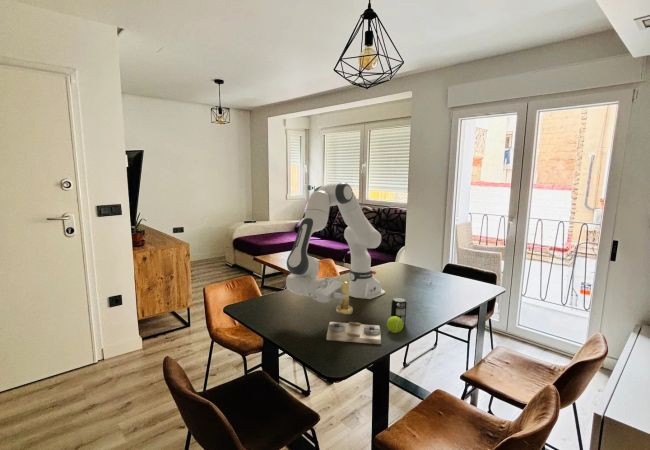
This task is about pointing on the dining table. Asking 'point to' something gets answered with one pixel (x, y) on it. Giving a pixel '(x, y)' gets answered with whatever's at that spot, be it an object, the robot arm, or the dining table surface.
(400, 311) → the beverage can
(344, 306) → the gold flanged post
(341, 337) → the gear board
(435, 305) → the dining table surface
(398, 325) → the tennis ball
